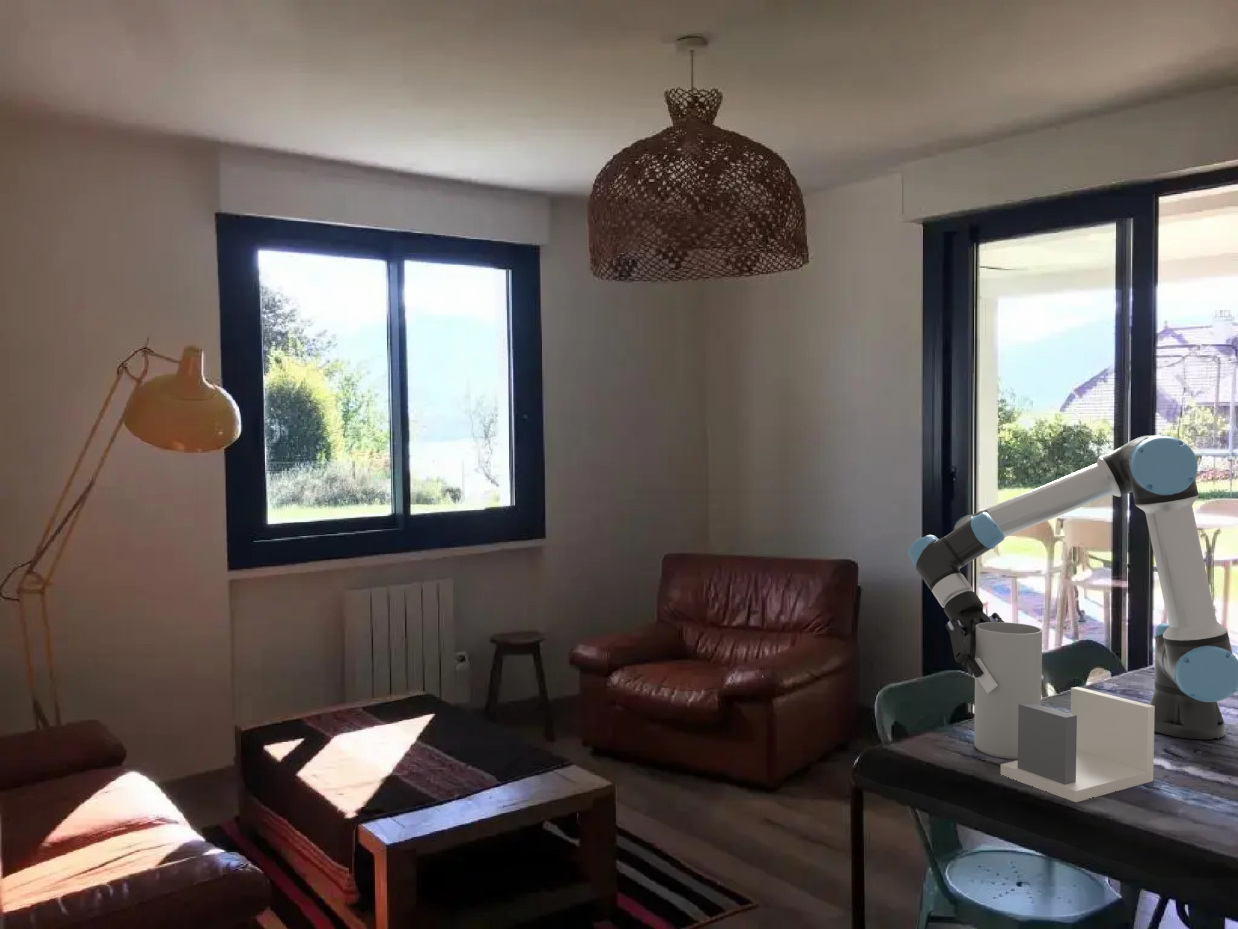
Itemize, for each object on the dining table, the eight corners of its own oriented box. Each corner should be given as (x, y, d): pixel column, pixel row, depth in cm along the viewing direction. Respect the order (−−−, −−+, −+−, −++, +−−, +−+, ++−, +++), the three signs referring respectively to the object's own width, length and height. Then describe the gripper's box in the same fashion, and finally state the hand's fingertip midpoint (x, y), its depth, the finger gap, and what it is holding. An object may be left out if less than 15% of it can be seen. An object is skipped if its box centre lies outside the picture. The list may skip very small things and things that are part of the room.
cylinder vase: (960, 745, 205) (962, 624, 204) (1007, 738, 210) (1008, 620, 209) (1006, 764, 194) (1008, 636, 193) (1054, 756, 198) (1056, 631, 198)
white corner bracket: (1076, 756, 198) (1077, 686, 198) (1153, 781, 184) (1154, 706, 184) (1000, 774, 187) (1001, 701, 187) (1076, 802, 173) (1077, 722, 173)
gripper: (988, 605, 221) (1045, 688, 208) (906, 615, 208) (961, 703, 196) (1008, 585, 216) (1068, 668, 203) (925, 593, 204) (983, 682, 191)
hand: (1016, 685), depth 199 cm, fingers open, 13 cm apart
